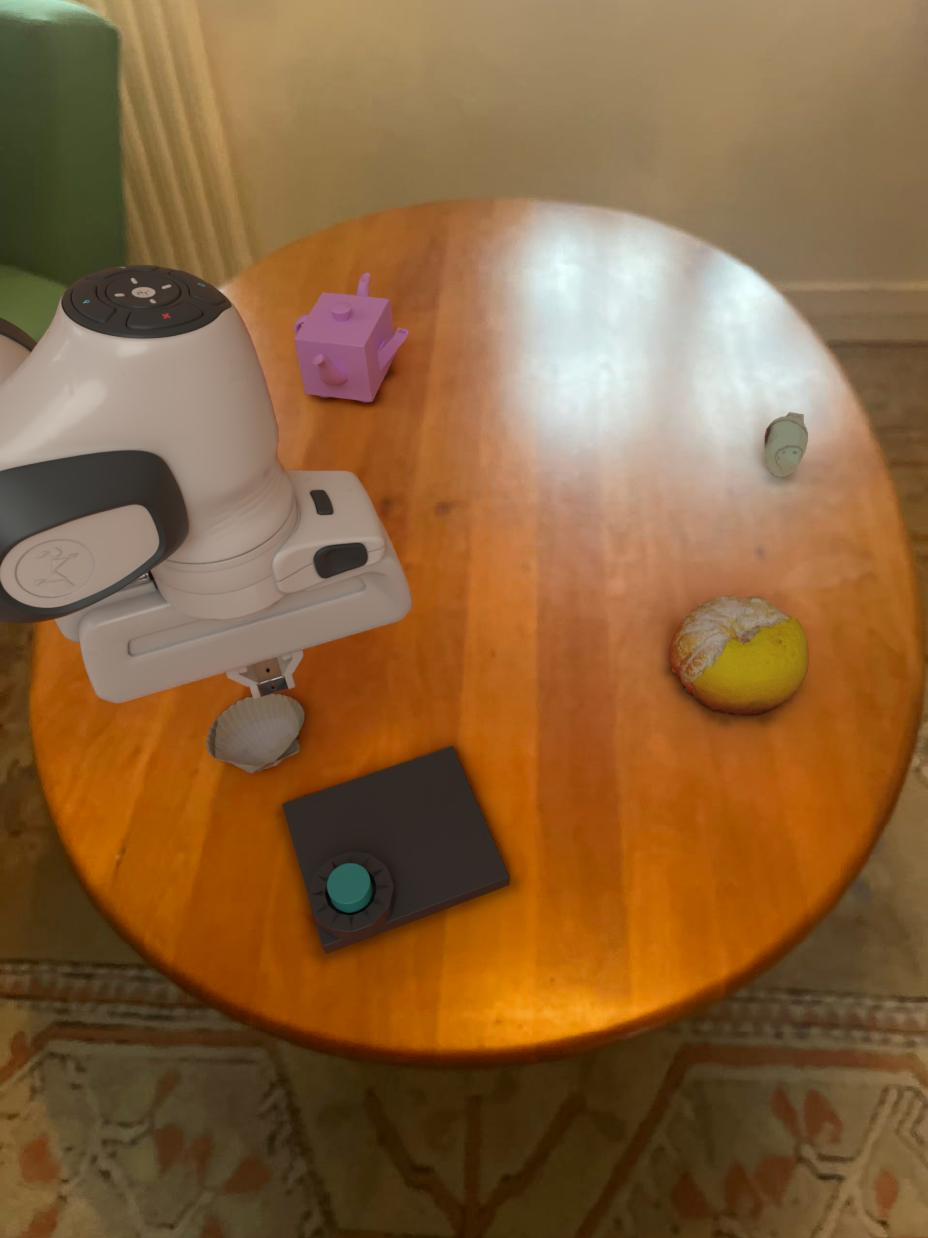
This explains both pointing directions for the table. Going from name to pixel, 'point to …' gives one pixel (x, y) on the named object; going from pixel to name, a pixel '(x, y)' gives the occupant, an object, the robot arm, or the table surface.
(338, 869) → the button
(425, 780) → the black button board
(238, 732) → the seashell
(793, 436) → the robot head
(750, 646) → the fruit
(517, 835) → the table surface
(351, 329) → the teapot
